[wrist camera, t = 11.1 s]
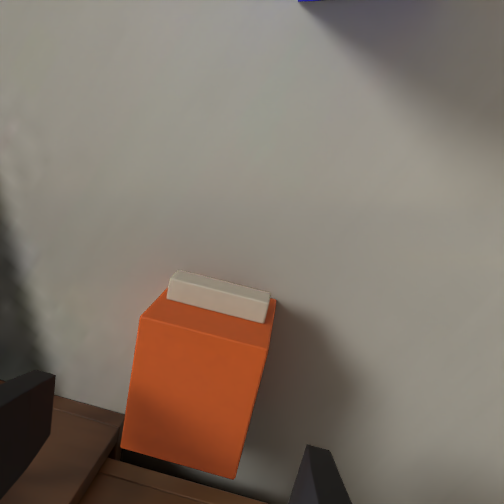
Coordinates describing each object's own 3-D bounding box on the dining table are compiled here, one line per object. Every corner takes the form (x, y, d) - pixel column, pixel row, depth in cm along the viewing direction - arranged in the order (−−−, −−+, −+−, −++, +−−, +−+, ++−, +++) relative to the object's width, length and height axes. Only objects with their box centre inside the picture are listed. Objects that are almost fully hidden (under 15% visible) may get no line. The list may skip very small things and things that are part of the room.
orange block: (282, 280, 15) (275, 325, 11) (245, 419, 17) (229, 499, 13) (182, 255, 15) (142, 291, 12) (157, 395, 17) (116, 467, 13)
